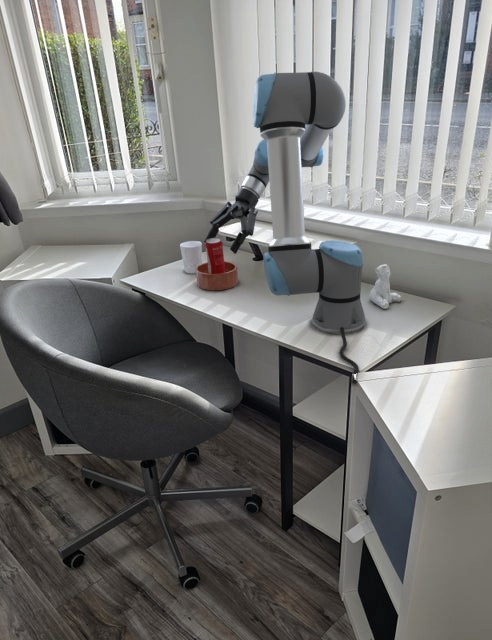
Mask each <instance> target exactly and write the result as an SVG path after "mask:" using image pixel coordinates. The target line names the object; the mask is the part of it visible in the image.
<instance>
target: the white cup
mask: <svg viewBox="0 0 492 640" xmlns="http://www.w3.org/2000/svg"><path fill="white" fill-rule="evenodd" d="M179 249H180V253H181V254H180V255H181V260H182V264H183V270H184V272H185V273H186V274H196V267H197V266H199V265H201V264H203V263H204V262H203V261H204V260H203V244H202V242H201V241H198V240H187V241H183V242H182V243H180V244H179Z"/></svg>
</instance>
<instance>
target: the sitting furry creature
mask: <svg viewBox="0 0 492 640" xmlns="http://www.w3.org/2000/svg"><path fill="white" fill-rule="evenodd" d="M373 270H374V272H375V273H376V276H377V279H376V280H375V284H374V286H373V288H372V289H370V292H369V294H370V296H369V297H370V300H371V302H372V303H373V304H375V305H377V306H378V307H379V308H381V309H383V310H388V308H389V307H390V305H391V304H392V303H394V302H395V303H401V299H402V295H400V294H398V293H397V292H391V283H390V276H391V274H392V273H391V269H390V266H389V265H388V264H386V263H383V264H381V265H378V266H377V267H375V268H374V269H373Z"/></svg>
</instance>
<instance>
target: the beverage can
mask: <svg viewBox="0 0 492 640" xmlns="http://www.w3.org/2000/svg"><path fill="white" fill-rule="evenodd" d="M204 246H205V254H206V261H207V262H208V270H209V274H221V273H225V264H224V261H225V256H224V247H223V241H222V239H221V238H220V237H215V238H210V239H207V240H206V243H204ZM207 262H206V263H207Z"/></svg>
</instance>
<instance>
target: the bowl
mask: <svg viewBox="0 0 492 640" xmlns="http://www.w3.org/2000/svg"><path fill="white" fill-rule="evenodd" d="M224 264H225V273H221V274H209V270H208V262H203V263H202V264H201V265H199V266H197V267H196V273H195V276H196V284H197V286H198V287H199V288H201V289H202V290H206V291H215V292H216V291H225V290H228V289H231V288H233V287H235V286H237V284H238V283H239V275H238V265H237V264H236V262H235V263H234V262H231V261H227V260H224Z"/></svg>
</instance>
